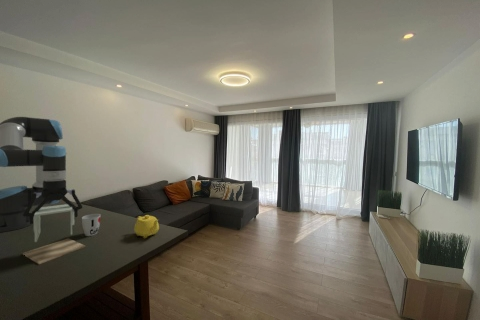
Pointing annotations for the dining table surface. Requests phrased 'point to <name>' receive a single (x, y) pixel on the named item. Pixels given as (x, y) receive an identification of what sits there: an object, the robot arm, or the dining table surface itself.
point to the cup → (91, 224)
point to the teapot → (146, 226)
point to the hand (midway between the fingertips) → (55, 227)
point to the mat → (53, 250)
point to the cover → (49, 211)
